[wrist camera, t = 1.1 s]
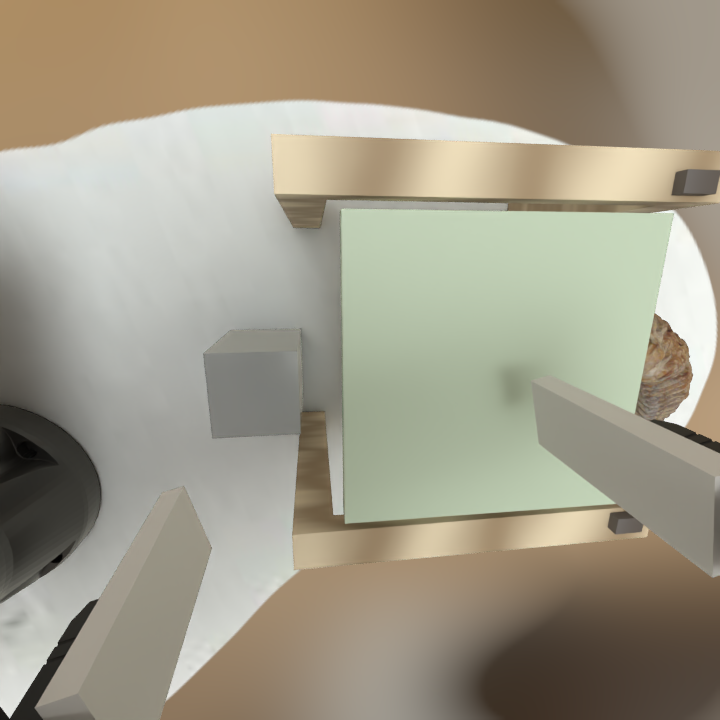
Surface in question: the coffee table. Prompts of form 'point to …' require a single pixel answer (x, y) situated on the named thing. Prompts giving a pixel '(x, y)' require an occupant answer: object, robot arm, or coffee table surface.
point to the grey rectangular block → (255, 383)
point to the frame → (482, 185)
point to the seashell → (663, 373)
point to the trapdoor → (483, 350)
